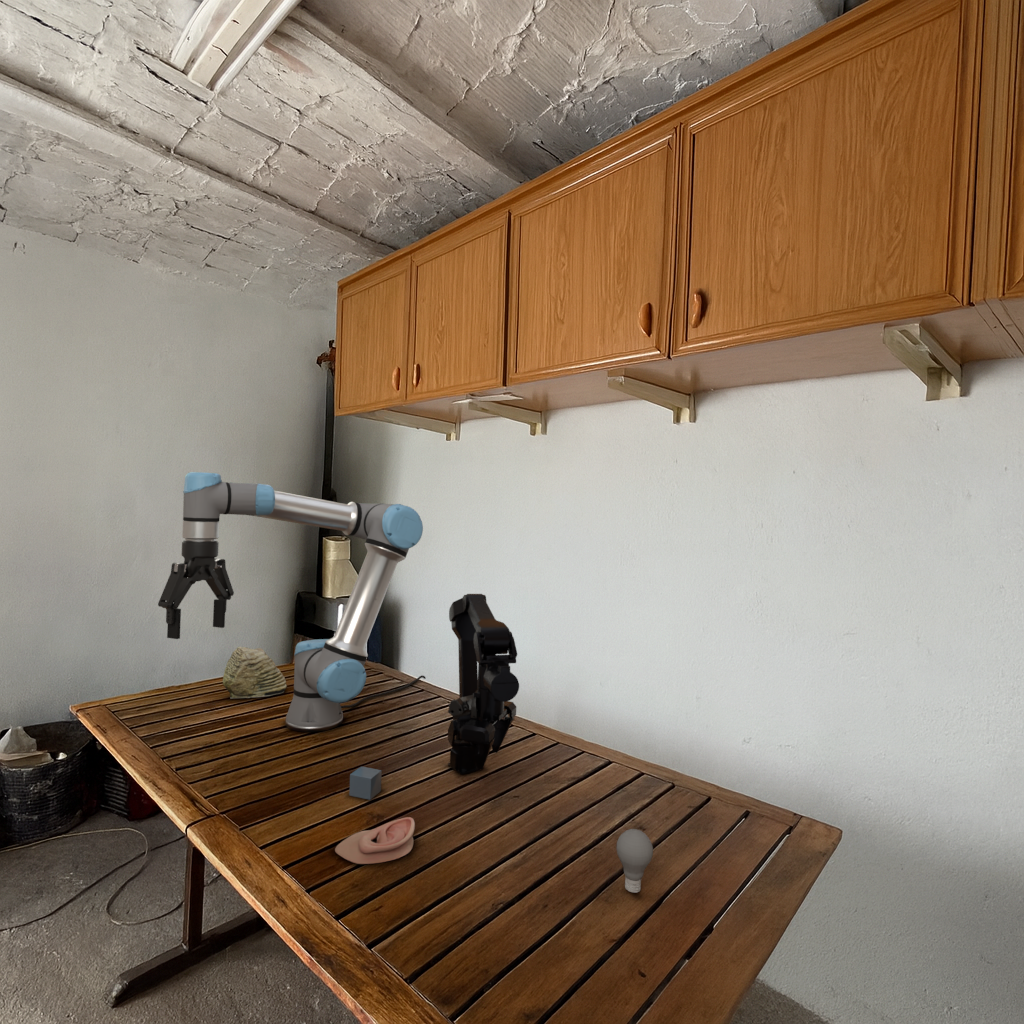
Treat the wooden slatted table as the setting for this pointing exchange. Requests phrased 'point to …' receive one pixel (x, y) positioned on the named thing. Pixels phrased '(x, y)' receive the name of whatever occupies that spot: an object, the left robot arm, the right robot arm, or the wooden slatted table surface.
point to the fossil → (252, 674)
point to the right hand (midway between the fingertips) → (487, 760)
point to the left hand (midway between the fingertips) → (197, 632)
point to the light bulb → (634, 857)
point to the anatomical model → (379, 843)
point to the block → (365, 783)
